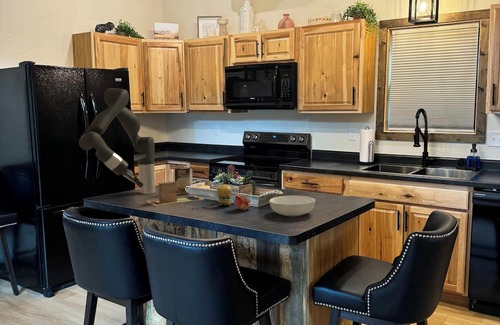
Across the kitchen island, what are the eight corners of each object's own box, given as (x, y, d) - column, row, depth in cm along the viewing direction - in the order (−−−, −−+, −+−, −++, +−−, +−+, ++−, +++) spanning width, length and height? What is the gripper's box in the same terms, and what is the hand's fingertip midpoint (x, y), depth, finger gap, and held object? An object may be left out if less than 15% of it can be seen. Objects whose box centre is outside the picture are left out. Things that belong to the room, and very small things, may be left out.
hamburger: (234, 204, 231) (233, 181, 230) (229, 207, 224) (229, 183, 223) (220, 204, 233) (219, 181, 232) (215, 207, 226) (214, 183, 225)
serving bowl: (281, 207, 223) (281, 193, 222) (321, 211, 212) (321, 197, 212) (261, 216, 205) (261, 201, 204) (304, 221, 195) (304, 206, 194)
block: (159, 201, 234) (158, 182, 233) (173, 200, 238) (172, 181, 237) (162, 203, 230) (161, 184, 229) (177, 201, 234) (176, 182, 233)
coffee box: (174, 196, 255) (173, 168, 253) (177, 194, 262) (176, 167, 260) (190, 196, 254) (189, 168, 252) (193, 194, 261) (192, 167, 259)
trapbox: (146, 204, 235) (145, 200, 235) (193, 198, 249) (193, 195, 249) (155, 209, 223) (155, 205, 223) (204, 202, 237) (204, 199, 237)
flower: (233, 209, 212) (243, 195, 212) (225, 202, 220) (235, 188, 220) (247, 218, 218) (257, 204, 218) (239, 210, 225) (248, 197, 225)
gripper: (124, 158, 214) (151, 181, 221) (117, 156, 225) (142, 178, 233) (114, 170, 212) (141, 193, 219) (107, 168, 223) (132, 189, 231)
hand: (141, 185), depth 226 cm, fingers closed
